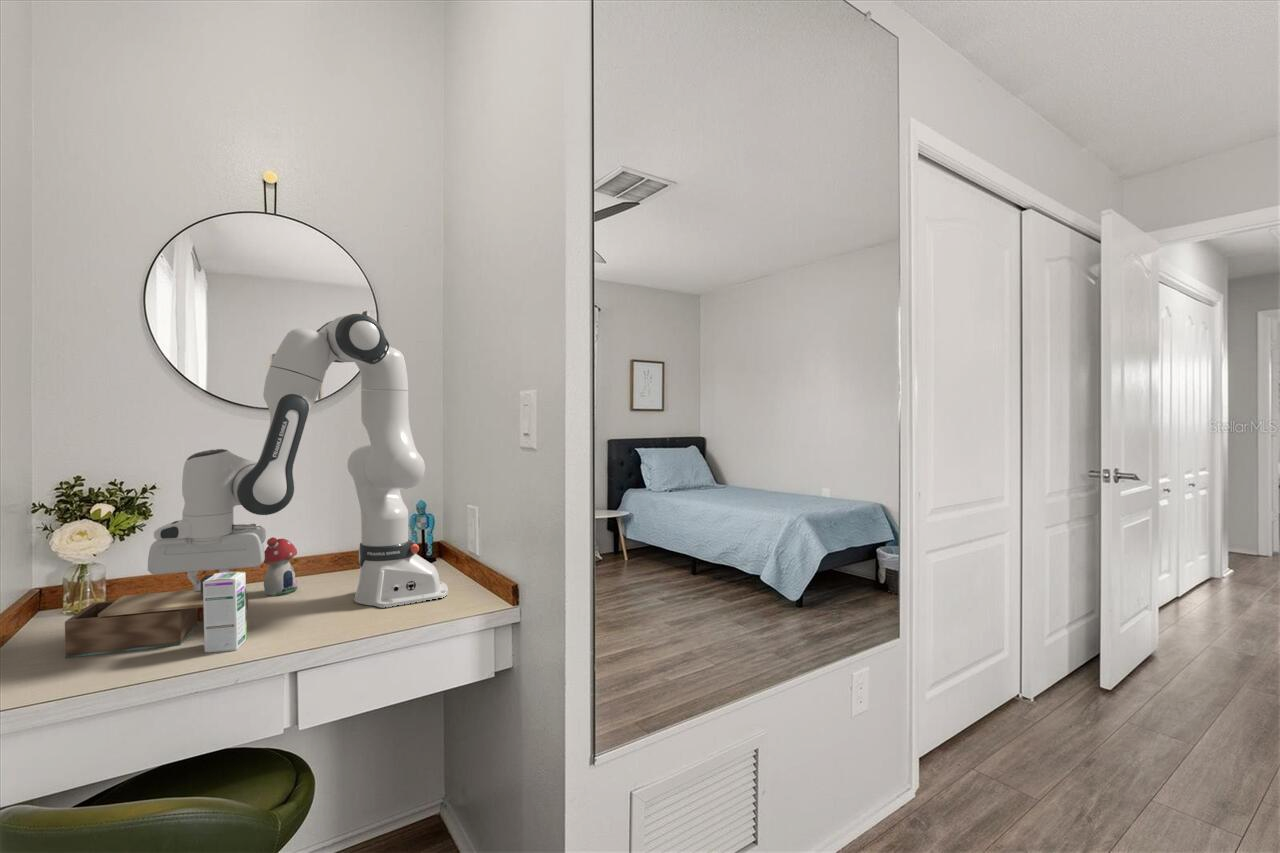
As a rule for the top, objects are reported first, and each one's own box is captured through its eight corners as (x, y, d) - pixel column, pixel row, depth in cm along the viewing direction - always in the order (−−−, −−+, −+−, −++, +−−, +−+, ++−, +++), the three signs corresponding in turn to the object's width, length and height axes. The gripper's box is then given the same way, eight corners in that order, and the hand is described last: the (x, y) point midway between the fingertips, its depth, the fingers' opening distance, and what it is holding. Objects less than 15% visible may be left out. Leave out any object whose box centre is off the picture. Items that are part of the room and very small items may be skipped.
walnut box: (197, 624, 132) (197, 593, 132) (180, 644, 121) (180, 610, 121) (93, 635, 125) (93, 602, 125) (65, 658, 114) (64, 621, 114)
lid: (224, 589, 134) (224, 569, 134) (209, 606, 123) (209, 584, 122) (123, 598, 127) (123, 576, 127) (97, 617, 116) (97, 593, 115)
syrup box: (237, 650, 119) (237, 578, 118) (202, 653, 117) (202, 580, 117) (247, 639, 124) (247, 570, 124) (214, 642, 123) (214, 572, 122)
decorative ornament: (271, 599, 150) (271, 539, 149) (253, 595, 152) (253, 537, 152) (305, 589, 159) (304, 533, 158) (287, 586, 161) (287, 530, 161)
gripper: (268, 520, 134) (268, 581, 135) (155, 526, 126) (156, 591, 127) (262, 525, 128) (262, 589, 129) (144, 532, 120) (144, 600, 121)
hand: (209, 590), depth 128 cm, fingers closed on lid, 2 cm apart
